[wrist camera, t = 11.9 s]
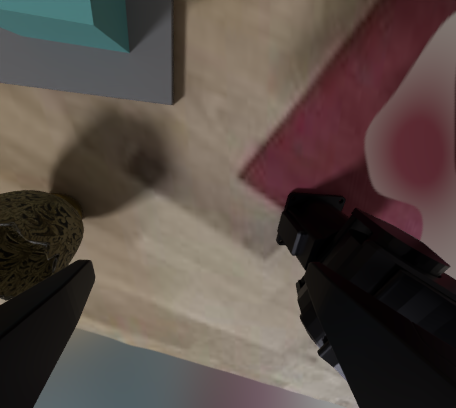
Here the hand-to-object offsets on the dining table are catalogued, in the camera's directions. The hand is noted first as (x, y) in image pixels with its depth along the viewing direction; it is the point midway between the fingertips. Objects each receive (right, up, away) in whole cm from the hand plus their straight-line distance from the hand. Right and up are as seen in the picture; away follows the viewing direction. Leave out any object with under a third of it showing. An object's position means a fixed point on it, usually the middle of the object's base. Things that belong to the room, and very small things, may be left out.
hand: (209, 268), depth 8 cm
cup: (-15, +2, +11) cm, 18 cm away
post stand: (-9, +16, +4) cm, 19 cm away
